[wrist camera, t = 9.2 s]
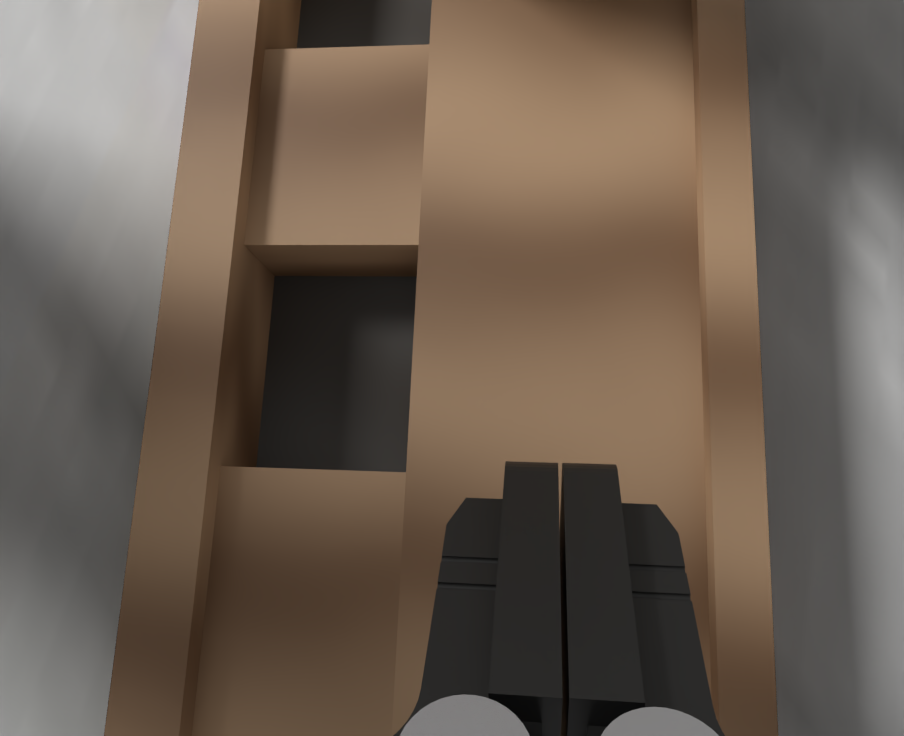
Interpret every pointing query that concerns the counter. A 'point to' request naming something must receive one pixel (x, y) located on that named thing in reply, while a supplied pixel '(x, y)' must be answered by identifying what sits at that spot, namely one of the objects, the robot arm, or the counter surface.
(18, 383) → the counter surface
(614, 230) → the trap deck
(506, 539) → the robot arm
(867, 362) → the counter surface
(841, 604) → the counter surface
